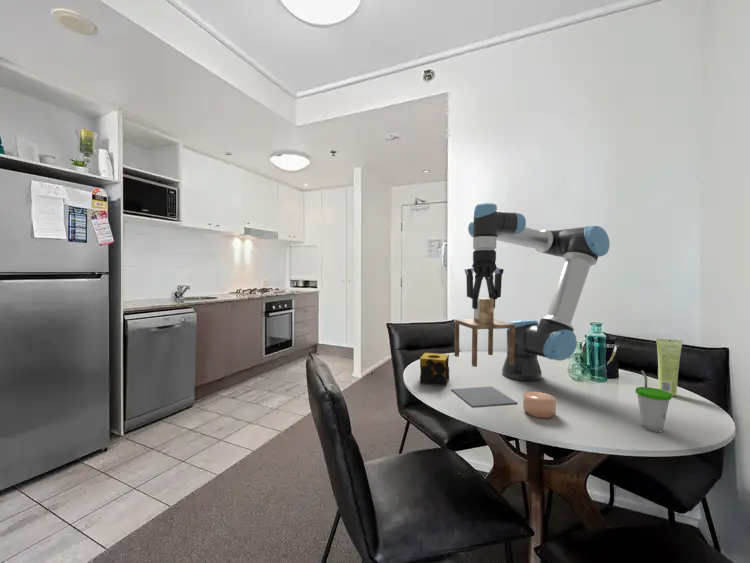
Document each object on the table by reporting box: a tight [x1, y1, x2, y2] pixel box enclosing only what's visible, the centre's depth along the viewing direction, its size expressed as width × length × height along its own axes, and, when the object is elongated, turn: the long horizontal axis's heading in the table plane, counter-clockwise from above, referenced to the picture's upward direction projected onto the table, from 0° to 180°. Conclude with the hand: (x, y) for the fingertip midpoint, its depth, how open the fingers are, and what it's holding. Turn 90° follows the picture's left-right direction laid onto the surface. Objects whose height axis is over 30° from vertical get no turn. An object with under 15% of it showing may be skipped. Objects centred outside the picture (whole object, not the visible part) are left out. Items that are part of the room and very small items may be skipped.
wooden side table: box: [454, 297, 515, 368], centre depth 118 cm, size 14×14×21 cm
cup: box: [635, 370, 673, 433], centre depth 95 cm, size 8×8×15 cm
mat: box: [450, 386, 518, 408], centre depth 118 cm, size 16×16×1 cm
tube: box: [655, 338, 684, 397], centre depth 122 cm, size 6×5×20 cm
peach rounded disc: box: [522, 391, 557, 419], centre depth 105 cm, size 9×9×5 cm
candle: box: [419, 352, 450, 387], centre depth 135 cm, size 10×10×10 cm
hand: (483, 318), depth 118 cm, fingers closed on wooden side table, 4 cm apart
